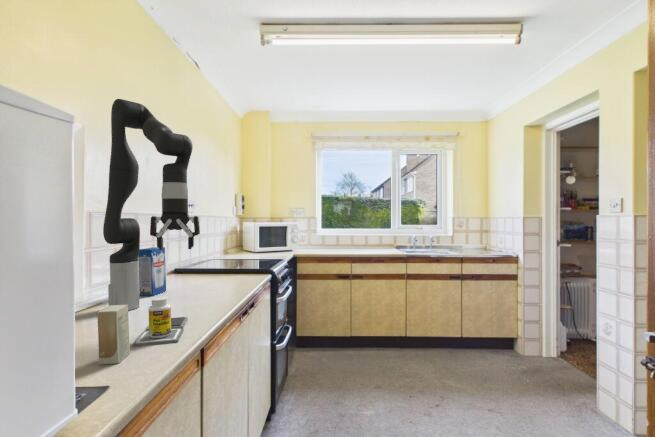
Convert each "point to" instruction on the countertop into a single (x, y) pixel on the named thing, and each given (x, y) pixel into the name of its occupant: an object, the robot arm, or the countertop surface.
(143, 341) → the grey square pad
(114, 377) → the countertop surface
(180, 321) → the ink pad
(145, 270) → the milk carton
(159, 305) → the supplement bottle
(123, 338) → the skincare box
